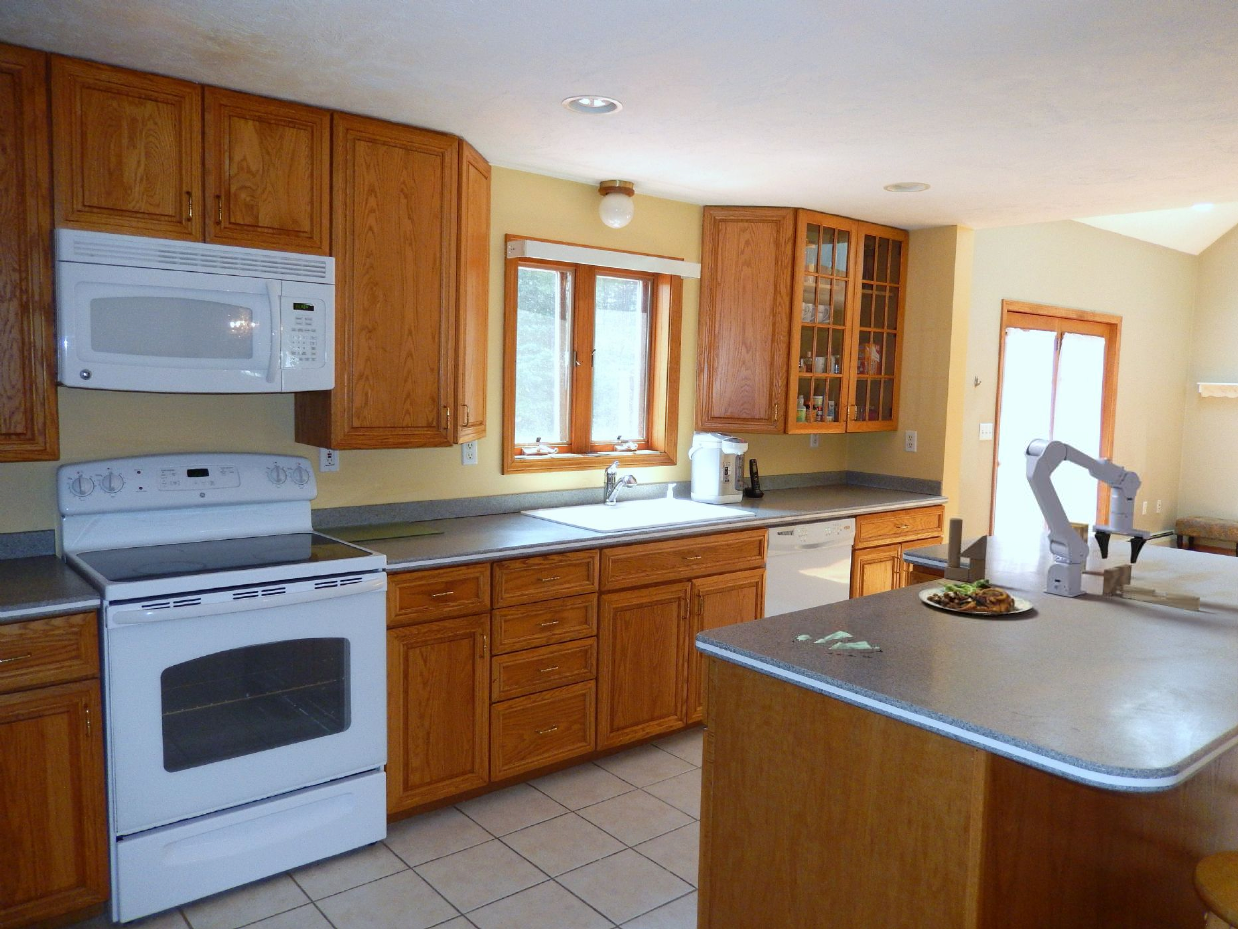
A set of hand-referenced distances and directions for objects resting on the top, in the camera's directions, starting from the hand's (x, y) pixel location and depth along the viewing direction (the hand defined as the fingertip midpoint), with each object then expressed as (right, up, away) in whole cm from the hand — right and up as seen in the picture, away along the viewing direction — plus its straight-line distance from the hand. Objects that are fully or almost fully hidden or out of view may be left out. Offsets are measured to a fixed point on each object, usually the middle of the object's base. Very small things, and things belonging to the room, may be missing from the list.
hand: (1118, 560), depth 250 cm
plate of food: (-48, -10, -18) cm, 52 cm away
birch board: (+4, -10, -12) cm, 17 cm away
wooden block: (-39, -7, +12) cm, 41 cm away
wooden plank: (0, -9, +1) cm, 9 cm away
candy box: (+1, -7, +30) cm, 30 cm away
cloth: (-92, -13, -56) cm, 108 cm away
